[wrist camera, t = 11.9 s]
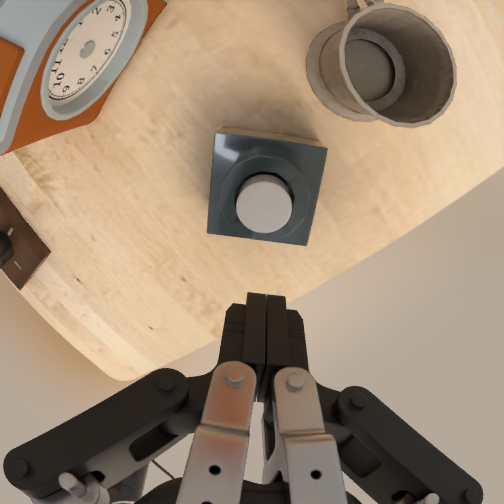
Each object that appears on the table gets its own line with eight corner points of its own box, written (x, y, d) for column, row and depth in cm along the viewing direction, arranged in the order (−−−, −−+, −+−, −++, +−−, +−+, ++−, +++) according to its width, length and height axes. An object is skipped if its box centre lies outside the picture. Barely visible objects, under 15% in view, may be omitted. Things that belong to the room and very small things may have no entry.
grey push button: (285, 225, 25) (286, 236, 23) (235, 218, 25) (233, 229, 23) (294, 177, 23) (296, 186, 21) (241, 170, 23) (239, 178, 21)
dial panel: (51, 251, 34) (40, 262, 31) (28, 281, 36) (19, 291, 34) (0, 186, 29) (-13, 194, 27) (-18, 224, 32) (-28, 232, 30)
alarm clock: (92, 132, 26) (1, 171, 14) (40, 99, 24) (-53, 125, 12) (170, 5, 20) (101, -44, 8) (106, -20, 18) (24, -56, 6)
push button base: (302, 227, 31) (309, 258, 26) (213, 215, 31) (202, 244, 25) (319, 140, 26) (333, 153, 21) (221, 126, 26) (210, 135, 21)
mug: (418, 108, 24) (496, 129, 13) (328, 133, 26) (369, 163, 15) (367, -25, 17) (421, -73, 7) (270, -6, 19) (272, -64, 9)
